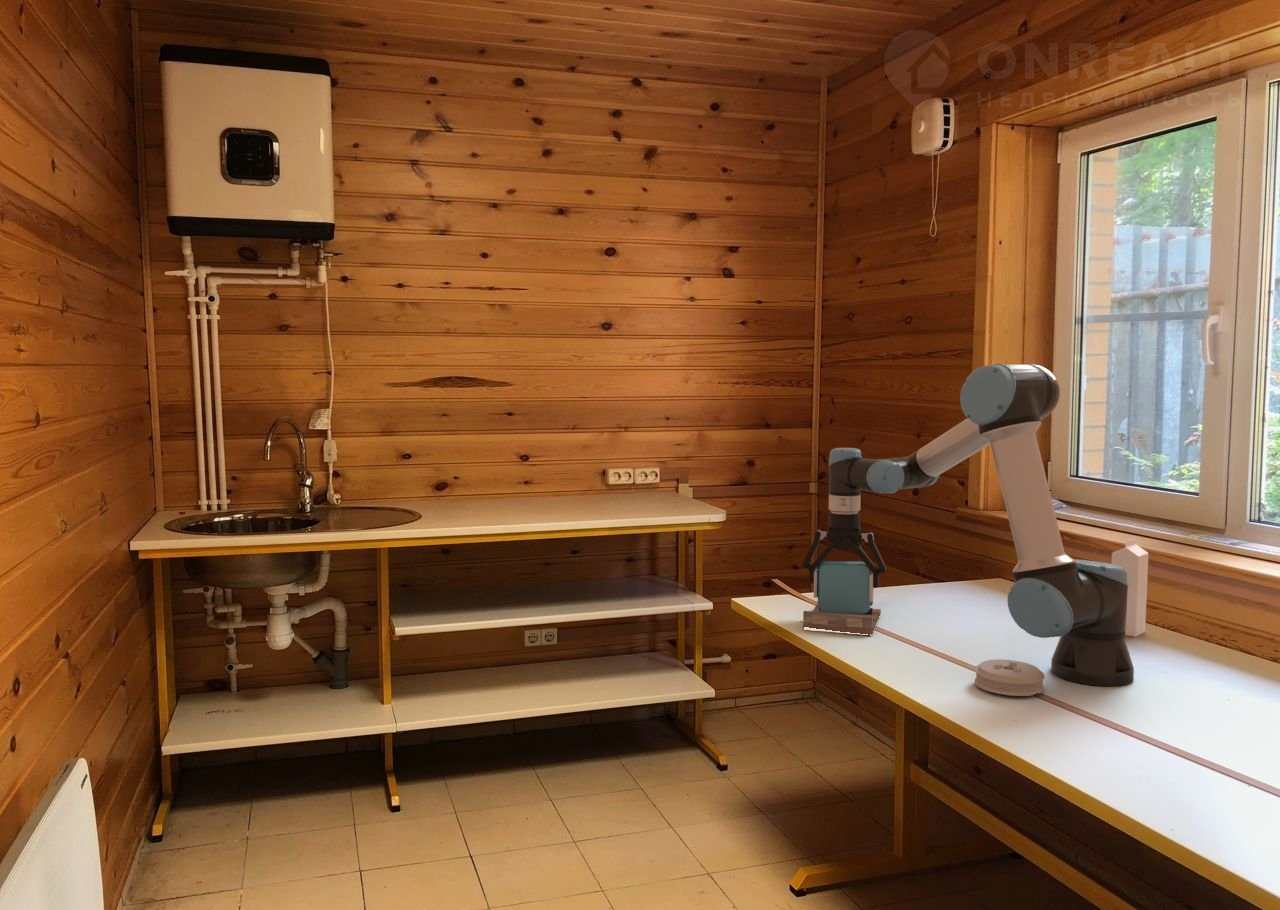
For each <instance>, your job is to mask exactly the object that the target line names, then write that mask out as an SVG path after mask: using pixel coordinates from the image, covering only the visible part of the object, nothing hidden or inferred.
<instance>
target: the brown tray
mask: <svg viewBox="0 0 1280 910" xmlns="http://www.w3.org/2000/svg"><path fill="white" fill-rule="evenodd" d="M881 611H882V609H881V608H873V607H870V609H869V611H868V612H867V613H865V614H838V613H826V612H822V611H821V610H820V608H819V606H818V603H817V604H816V605H815V607H814V608H813V609H812V611H810V610H804V611H803V612H802V613H803V614H802V616H803V619H802V621H803V622H802V625H803V627H809V628H816V629H825V630H832V631H840V632H850V633H860V634H868V635H870V634H871V635H872V634H873V635H874V633H873V631H874V632H875V630H874V628H875V625H876V623H877V621H878V622H879V620H880V618H879V616H880V614H881ZM880 617H881V616H880ZM878 619H879V620H878ZM877 624H878V623H877ZM876 626H877V625H876ZM803 627H802V628H803ZM875 629H876V628H875ZM873 635H872V636H873Z"/></svg>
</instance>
